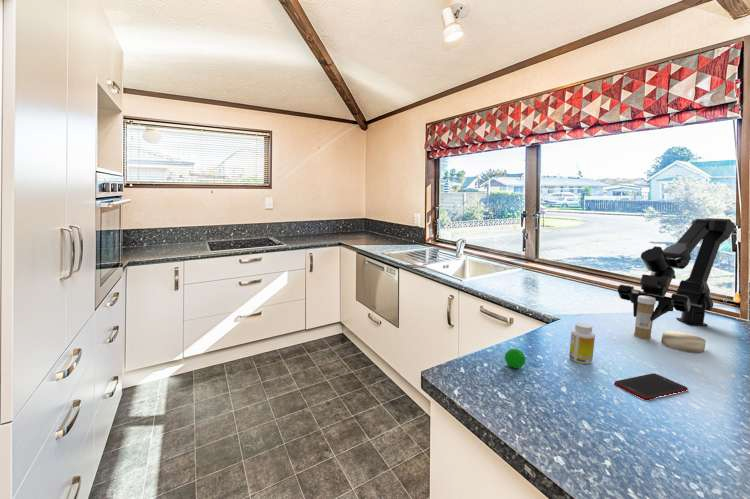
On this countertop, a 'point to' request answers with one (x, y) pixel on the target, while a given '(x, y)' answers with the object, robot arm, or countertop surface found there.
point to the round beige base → (683, 341)
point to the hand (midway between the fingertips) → (642, 318)
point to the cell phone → (650, 386)
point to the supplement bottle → (582, 343)
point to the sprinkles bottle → (644, 317)
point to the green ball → (515, 358)
